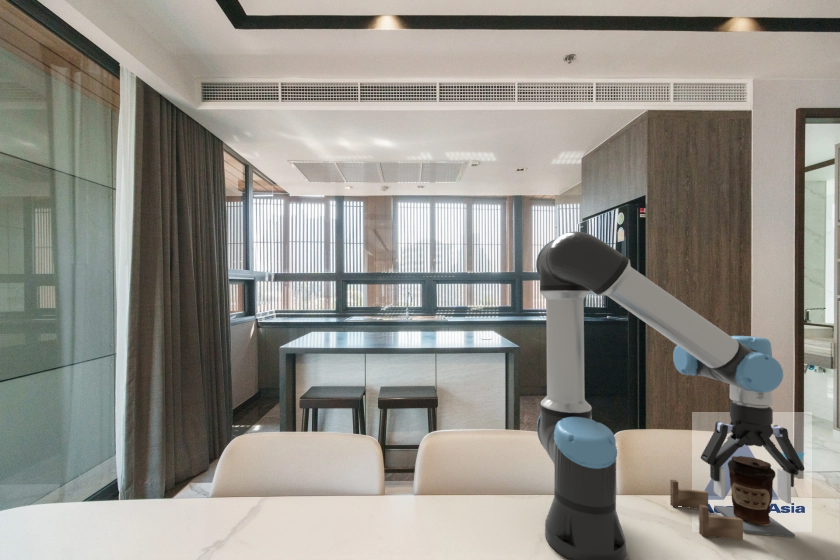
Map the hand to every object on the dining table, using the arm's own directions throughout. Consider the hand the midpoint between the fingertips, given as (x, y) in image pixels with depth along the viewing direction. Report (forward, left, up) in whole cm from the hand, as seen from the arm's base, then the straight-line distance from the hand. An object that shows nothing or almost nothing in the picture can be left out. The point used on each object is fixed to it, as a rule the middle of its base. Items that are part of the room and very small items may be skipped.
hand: (751, 497), depth 88 cm
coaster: (0, 0, -5) cm, 5 cm away
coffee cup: (0, 0, -5) cm, 5 cm away
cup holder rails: (-11, -1, -5) cm, 12 cm away
